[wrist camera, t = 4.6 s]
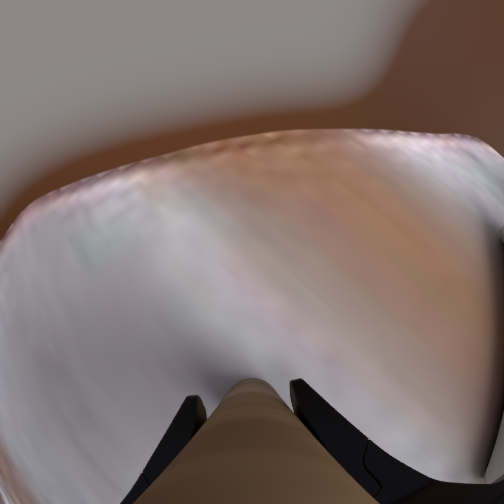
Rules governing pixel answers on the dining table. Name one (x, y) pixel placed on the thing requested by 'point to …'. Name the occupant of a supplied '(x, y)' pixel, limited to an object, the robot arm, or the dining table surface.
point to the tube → (497, 445)
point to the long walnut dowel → (254, 459)
